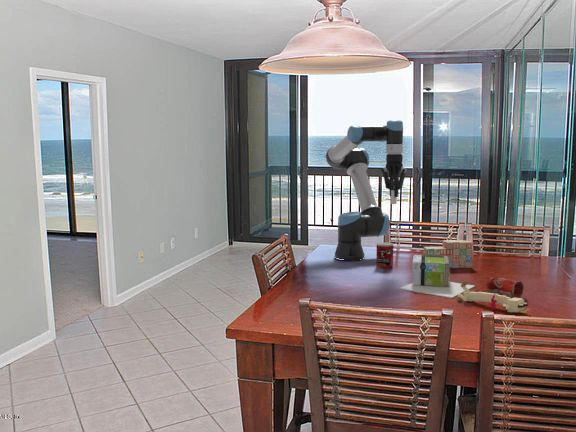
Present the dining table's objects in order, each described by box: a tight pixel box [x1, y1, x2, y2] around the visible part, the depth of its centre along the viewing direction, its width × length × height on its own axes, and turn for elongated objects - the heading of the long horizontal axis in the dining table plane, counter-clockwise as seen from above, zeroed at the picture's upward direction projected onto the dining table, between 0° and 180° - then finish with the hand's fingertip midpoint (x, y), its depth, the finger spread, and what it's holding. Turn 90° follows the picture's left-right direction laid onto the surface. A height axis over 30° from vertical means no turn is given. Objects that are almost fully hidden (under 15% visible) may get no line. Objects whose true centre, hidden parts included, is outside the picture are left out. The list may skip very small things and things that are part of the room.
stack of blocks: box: [422, 239, 474, 269], centre depth 260 cm, size 21×6×12 cm, turn 91°
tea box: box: [411, 254, 451, 287], centre depth 229 cm, size 15×10×15 cm
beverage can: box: [486, 276, 525, 298], centre depth 210 cm, size 7×12×7 cm, turn 39°
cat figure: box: [456, 280, 530, 314], centre depth 195 cm, size 10×9×25 cm
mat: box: [398, 281, 476, 299], centre depth 222 cm, size 22×22×1 cm
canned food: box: [375, 241, 394, 269], centre depth 262 cm, size 8×8×11 cm
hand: (393, 203), depth 263 cm, fingers closed
